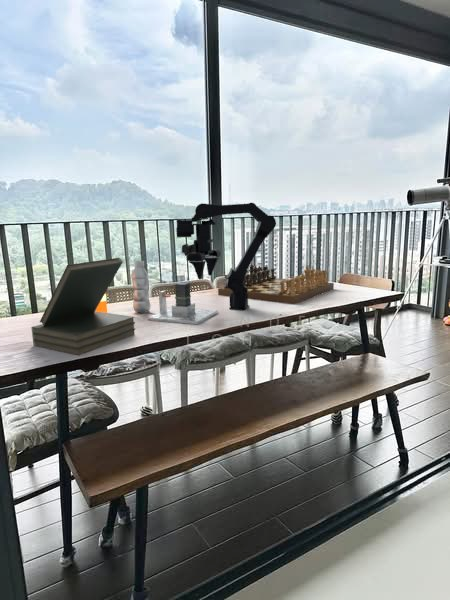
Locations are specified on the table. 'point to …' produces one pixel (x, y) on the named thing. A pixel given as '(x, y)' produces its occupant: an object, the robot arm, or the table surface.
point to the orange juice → (102, 305)
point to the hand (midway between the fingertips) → (204, 277)
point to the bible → (82, 311)
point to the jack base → (180, 312)
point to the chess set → (282, 285)
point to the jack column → (182, 294)
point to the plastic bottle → (140, 288)
